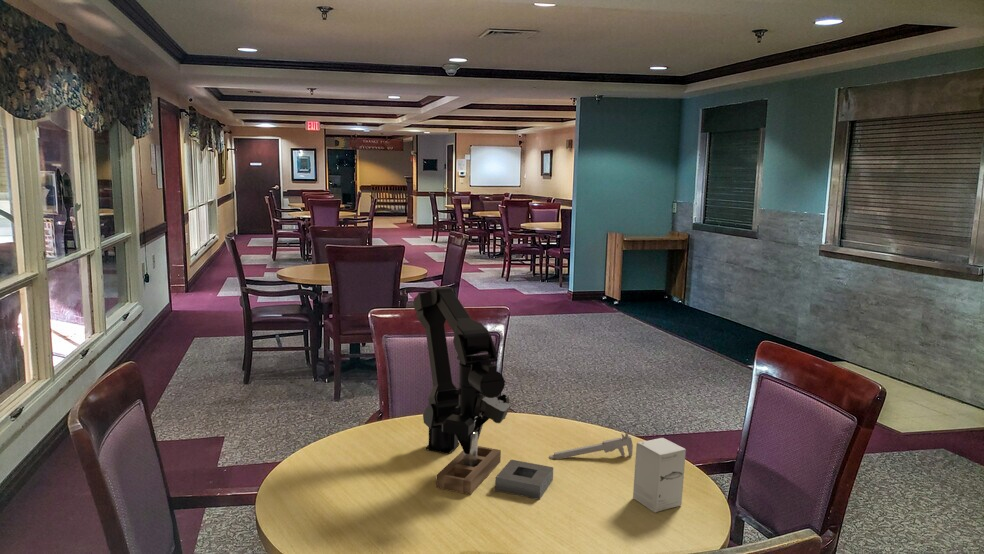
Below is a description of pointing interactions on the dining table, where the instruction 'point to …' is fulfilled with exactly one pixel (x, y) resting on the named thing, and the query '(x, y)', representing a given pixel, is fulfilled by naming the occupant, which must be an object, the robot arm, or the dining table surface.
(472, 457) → the metal peg
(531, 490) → the socket block
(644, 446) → the supplement box
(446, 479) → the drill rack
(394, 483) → the dining table surface
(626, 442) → the caliper
